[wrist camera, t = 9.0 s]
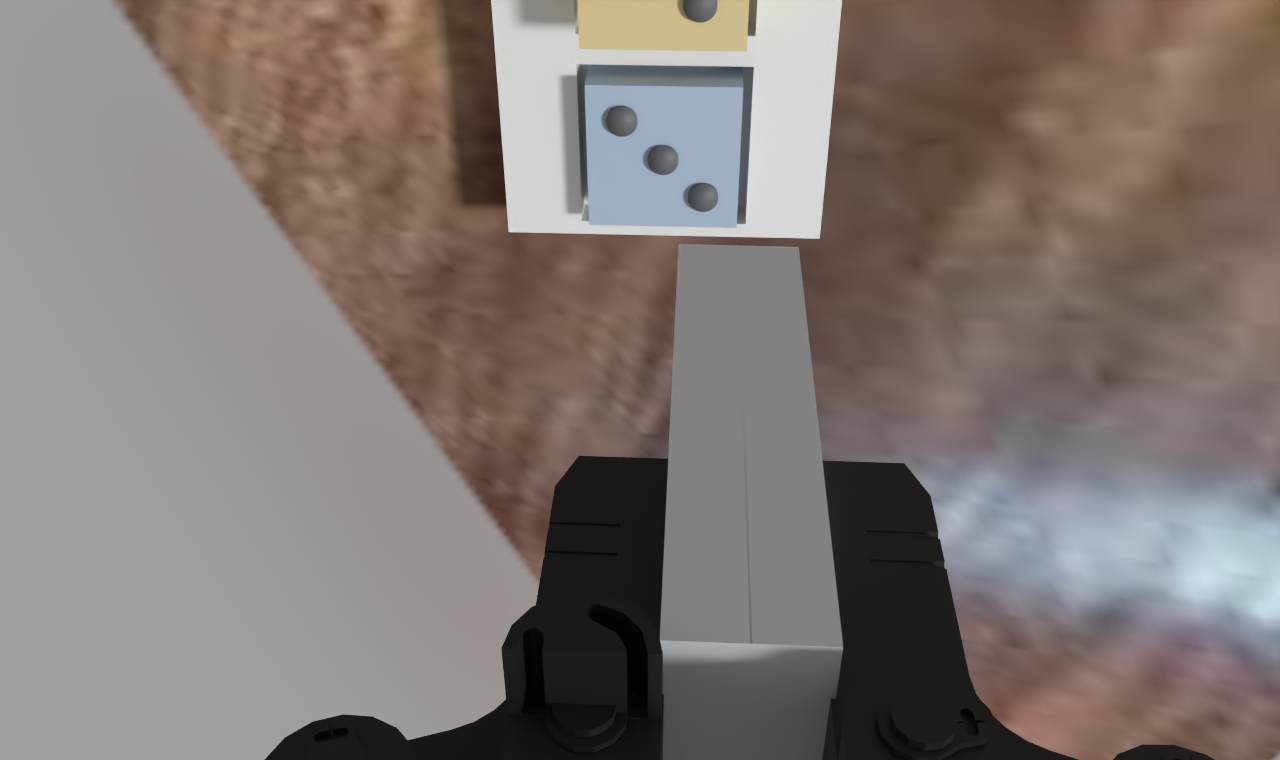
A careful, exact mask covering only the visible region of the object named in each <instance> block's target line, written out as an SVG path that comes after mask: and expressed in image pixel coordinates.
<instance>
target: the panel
mask: <svg viewBox="0 0 1280 760" xmlns="http://www.w3.org/2000/svg"><path fill="white" fill-rule="evenodd" d="M491 5H492V19H493V32H494V45H495V58H496V71H497V84H498V97H499V110H500V123H501V136H502V149H503V163H504V176H505V189H506V202H507V215H508V228H509V232H530V233H578V234H626V235H674V236H722V237H769V238H817V239H820V229H821V218H822V208H823V197H824V187H825V176H826V165H827V155H828V144H829V133H830V123H831V112H832V102H833V91H834V80H835V70H836V59H837V48H838V38H839V27H840V16H841V6H842V0H749V17H748V37H747V52H742V51H673V50H604V49H579V31H578V2H577V0H491ZM589 64H597V65H664V66H730V67H742V68H743V107H742V127H741V148H740V169H739V190H738V210H737V228H715V227H666V226H618V225H589V207H588V176H587V145H586V114H585V81H586V76H587V72H588V67H589Z"/></svg>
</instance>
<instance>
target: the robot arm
mask: <svg viewBox="0 0 1280 760" xmlns="http://www.w3.org/2000/svg"><path fill="white" fill-rule="evenodd" d="M944 562H945V561H944V557H943V552H942V547H941V543H940V539H938V529H937V524H936V519H935V515H934V510H933V506H932V501H931V496H930V495H929V493H928V492H927V491H926V490H925V489H924V487H923V486H922V485H921V484H920V482H919V481H918V480H917V479H916V477H915V476H914V475H913V474H912V472H911V471H910V470H909V469H908V468H907V466H906V465H905V464H904V463H876V462H844V461H822V453H821V444H820V435H819V426H818V417H817V408H816V399H815V390H814V381H813V372H812V363H811V354H810V345H809V336H808V327H807V318H806V309H805V300H804V292H803V283H802V274H801V265H800V256H799V247H775V246H735V245H695V244H679V247H678V268H677V289H676V310H675V331H674V352H673V373H672V393H671V414H670V435H669V456H668V459H658V458H627V457H595V456H579V457H578V458H577V459H576V460H575V462H574V463H573V464H572V466H571V467H570V468H569V469H568V471H567V472H566V473H565V475H564V476H563V477H562V478H561V480H560V481H559V482H558V483H557V485H556V486H555V490H554V497H553V503H552V509H551V515H550V522H549V529H548V534H547V540H546V546H545V558H544V559H543V565H542V571H541V578H540V584H539V590H538V596H537V602H536V606H533V607H531V608H530V609H529V610H528V611H527V612H526V613H525V614H524V615H523V616H522V617H520V618H519V619H518V620H517V621H516V622H515V623H514V624H513V625H512V626H511V628H510V630H509V633H508V635H507V637H506V639H505V642H504V644H503V646H502V659H503V669H504V679H505V689H506V700H505V701H504V702H503V703H502V704H501V705H499V706H498V707H497V708H496V709H495V710H494V711H492V712H490V713H489V714H487V715H485V716H484V717H482V718H480V719H478V720H477V721H475V722H473V723H470V724H467V725H464V726H461V727H458V728H455V729H452V730H449V731H444V732H440V733H436V734H432V735H428V736H424V737H420V738H416V739H412V740H406V738H405V737H404V736H403V735H402V733H401V732H400V731H399V730H398V729H397V728H396V727H393V726H391V725H389V724H387V723H385V722H383V721H381V720H379V719H376V718H374V717H369V716H355V715H339V716H335V717H331V718H327V719H323V720H319V721H314V722H312V723H310V724H308V725H306V726H305V727H303V728H301V729H299V730H298V731H296V732H294V733H293V734H291V735H289V736H287V737H285V738H284V739H283V741H281V743H280V744H279V745H278V746H277V747H276V748H275V749H274V750H273V751H272V752H271V753H270V754H269V756H268V757H267V758H266V759H265V760H1078V759H1075V758H1071V757H1068V756H1065V755H1062V754H1059V753H1056V752H1052V751H1050V750H1047V749H1045V748H1042V747H1040V746H1038V745H1035V744H1033V743H1030V742H1028V741H1026V740H1024V739H1023V738H1021V737H1020V736H1018V735H1017V734H1015V733H1013V732H1012V731H1010V730H1009V729H1007V728H1006V727H1004V726H1003V725H1002V724H1001V723H1000V722H999V721H998V720H997V719H996V718H995V717H994V716H993V715H992V713H991V711H990V709H989V708H988V707H987V706H986V705H985V704H984V703H983V702H982V701H981V700H980V699H979V697H978V696H977V694H976V693H975V690H974V687H973V684H972V682H971V679H970V676H969V672H968V668H967V663H966V659H965V654H964V649H963V645H962V640H961V635H960V631H959V626H958V621H957V617H956V612H955V608H954V603H953V598H952V594H951V589H950V584H949V580H948V575H947V570H946V569H945V568H944ZM1113 760H1214V759H1212V758H1211V757H1209V756H1207V755H1205V754H1202V753H1198V752H1195V751H1192V750H1189V749H1185V748H1182V747H1179V746H1176V745H1141V746H1138V747H1135V748H1133V749H1130V750H1128V751H1125V752H1123V753H1120V754H1118V755H1117V756H1116V757H1115V758H1114V759H1113Z"/></svg>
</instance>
